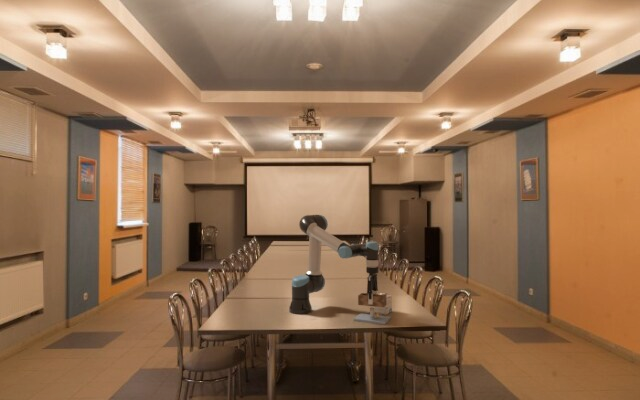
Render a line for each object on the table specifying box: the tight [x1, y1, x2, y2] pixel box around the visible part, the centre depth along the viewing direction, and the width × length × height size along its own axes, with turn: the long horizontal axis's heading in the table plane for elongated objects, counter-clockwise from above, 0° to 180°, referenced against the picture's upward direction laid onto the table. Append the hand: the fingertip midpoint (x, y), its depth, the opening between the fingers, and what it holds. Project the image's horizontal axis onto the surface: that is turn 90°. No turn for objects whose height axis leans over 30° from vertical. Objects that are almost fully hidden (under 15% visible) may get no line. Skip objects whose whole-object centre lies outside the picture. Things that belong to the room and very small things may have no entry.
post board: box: [353, 307, 391, 325], centre depth 266 cm, size 20×14×7 cm
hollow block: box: [357, 292, 386, 308], centre depth 266 cm, size 16×8×6 cm, turn 67°
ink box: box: [374, 291, 393, 315], centre depth 284 cm, size 9×8×13 cm
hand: (372, 302), depth 266 cm, fingers closed on hollow block, 8 cm apart
